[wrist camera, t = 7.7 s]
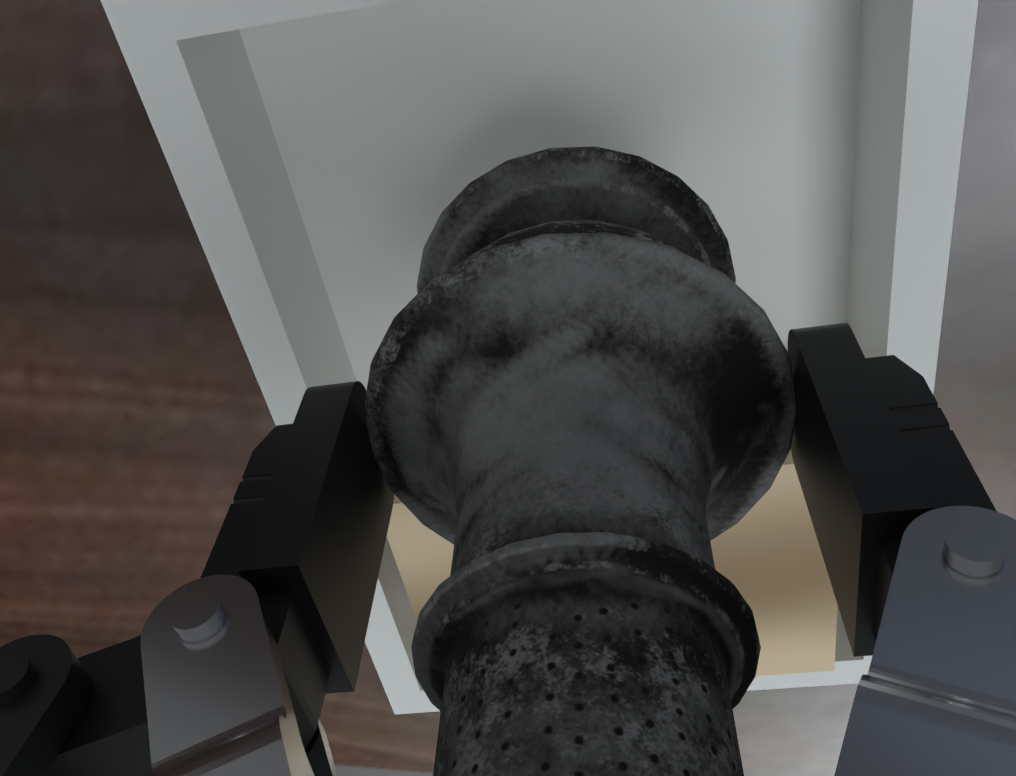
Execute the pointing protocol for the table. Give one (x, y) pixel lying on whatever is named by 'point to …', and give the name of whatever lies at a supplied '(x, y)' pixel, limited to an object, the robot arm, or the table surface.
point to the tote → (541, 125)
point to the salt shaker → (582, 468)
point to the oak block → (737, 555)
